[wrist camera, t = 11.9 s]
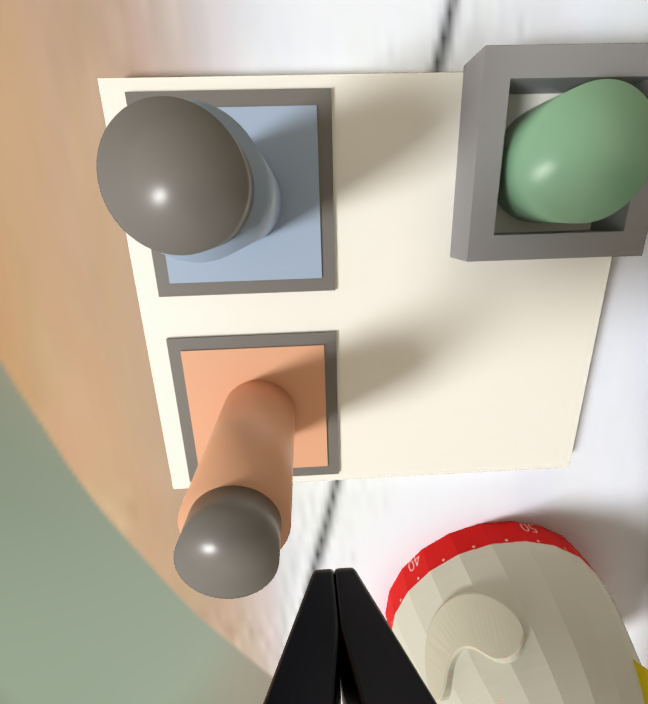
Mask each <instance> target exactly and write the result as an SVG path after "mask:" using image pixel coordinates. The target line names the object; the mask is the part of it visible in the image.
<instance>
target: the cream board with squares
mask: <svg viewBox="0 0 648 704" xmlns="http://www.w3.org/2000/svg"><path fill="white" fill-rule="evenodd" d="M599 79H616V80H620V81H624V82H626V83H629V84H631V85H633V86H634V87H636V88H637V89H639V90H640V91H641V92H642V93H643V94H644V95H645V97H646V98H647V99H648V43H616V44H549V45H486V46H485V47H484V48H483V49H482V50H481V51H480V52H478V53H477V54H476V55H475V56H474V57H473V58H472V59H471V60H470V61H469V62H468V63H467V64H466V65H465V66H464V72H441V73H384V74H327V75H270V76H213V77H156V78H99V79H98V84H99V89H100V95H101V100H102V106H103V111H104V117H105V122H106V127H107V126H108V124H109V123H110V121H111V120H112V119H113V118H114V117H115V116H116V114H118V113H119V112H120V111H121V110H122V109H123V108H125V107H126V106H128V105H130V104H131V103H133V102H136V101H138V100H141V99H144V98H148V97H153V96H172V97H177V98H181V99H192V100H197V101H201V102H205V103H207V104H210V105H213V106H215V107H216V108H218V109H220V110H222V111H224V112H225V113H227V114H228V115H229V116H231V117H232V118H233V119H234V120H235V121H236V122H238V123H239V124H240V125H241V126H242V128H243V129H244V130H245V131H246V132H247V133H248V135H249V136H250V138H251V139H252V141H253V142H254V144H255V145H256V147H257V149H258V150H259V152H260V153H261V155H262V156H263V158H264V160H265V161H266V163H267V164H268V166H269V167H270V169H271V171H272V172H273V174H274V175H275V177H276V179H277V181H278V184H279V187H280V190H281V197H282V206H281V212H280V216H279V218H278V221H277V223H276V224H275V226H274V228H273V229H272V230H271V231H270V232H269V233H268V234H267V235H266V236H265V237H263V238H261V239H260V240H258V241H256V242H254V243H252V244H250V245H248V246H246V247H244V248H242V249H240V250H238V251H237V252H235V253H233V254H231V255H229V256H227V257H224V258H222V259H219V260H215V261H211V262H202V263H196V262H186V261H181V260H177V259H174V258H171V257H169V256H167V255H164V254H162V253H160V252H158V251H154V250H152V249H150V248H148V247H146V246H144V245H142V244H141V243H139V242H137V241H136V240H135V239H133V238H132V237H131V236H129V235H128V234H127V233H126V235H127V241H128V246H129V252H130V257H131V262H132V268H133V273H134V279H135V284H136V290H137V295H138V300H139V306H140V311H141V317H142V322H143V327H144V333H145V338H146V344H147V349H148V354H149V360H150V365H151V371H152V376H153V381H154V387H155V392H156V398H157V403H158V408H159V414H160V419H161V425H162V430H163V436H164V441H165V446H166V452H167V457H168V463H169V468H170V473H171V479H172V484H173V489H183V488H189V486H190V483H191V481H192V479H193V476H194V474H195V472H196V469H197V467H198V464H199V462H200V460H201V457H202V455H203V453H204V450H205V448H206V445H207V443H208V441H209V438H210V436H211V434H212V431H213V429H214V426H215V424H216V422H217V419H218V417H219V415H220V412H221V410H222V407H223V405H224V403H225V400H226V398H227V396H228V395H229V393H230V392H231V391H232V390H233V389H234V388H236V387H237V386H238V385H240V384H242V383H245V382H248V381H253V380H264V381H269V382H272V383H275V384H277V385H278V386H280V387H282V388H283V389H284V390H285V391H286V392H287V393H288V394H289V395H290V397H291V399H292V401H293V403H294V406H295V432H294V458H293V482H308V481H326V480H344V479H362V478H379V477H397V476H415V475H433V474H451V473H469V472H487V471H505V470H522V469H540V468H558V467H569V465H570V460H571V455H572V450H573V446H574V441H575V436H576V431H577V426H578V421H579V416H580V411H581V406H582V402H583V397H584V392H585V387H586V382H587V377H588V372H589V367H590V362H591V357H592V353H593V348H594V343H595V338H596V333H597V328H598V323H599V318H600V313H601V308H602V304H603V299H604V294H605V289H606V284H607V279H608V274H609V269H610V264H611V260H612V257H615V256H642V253H643V248H644V244H645V239H646V235H647V231H648V177H647V179H646V181H645V182H644V184H643V185H642V187H641V188H640V190H639V191H638V192H637V193H636V195H635V196H634V197H633V198H632V199H631V200H630V201H629V202H628V203H627V204H626V205H625V206H623V207H622V208H621V209H620V210H618V211H617V212H615V213H614V214H612V215H610V216H608V217H606V218H603V219H601V220H598V221H594V222H590V223H539V222H526V221H522V220H519V219H517V218H515V217H513V216H511V215H510V214H509V213H507V212H506V211H505V210H504V209H503V208H502V206H501V205H500V204H499V202H498V191H499V182H500V172H501V163H502V153H503V144H504V135H505V130H506V129H507V128H508V127H509V125H510V124H511V123H512V122H513V121H514V120H515V119H516V118H517V117H519V116H520V115H521V114H523V113H524V112H526V111H528V110H530V109H531V108H534V107H536V106H538V105H540V104H542V103H544V102H546V101H548V100H550V99H552V98H555V97H557V96H559V95H561V94H563V93H565V92H567V91H569V90H571V89H573V88H576V87H578V86H580V85H582V84H585V83H587V82H590V81H594V80H599Z"/></svg>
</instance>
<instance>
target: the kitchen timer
mask: <svg viewBox="0 0 648 704" xmlns="http://www.w3.org/2000/svg"><path fill="white" fill-rule="evenodd" d="M386 618H387V623H388V624H389V626H390V627H391V629H392V631H393V632H394V634H395V636H396V637H397V639H398V641H399V642H400V644H401V645H402V647H403V649H404V650H405V652H406V654H407V655H408V657H409V658H410V660H411V662H412V663H413V665H414V667H415V668H416V670H417V672H418V673H419V675H420V676H421V678H422V680H423V681H424V683H425V685H426V686H427V688H428V690H429V691H430V693H431V694H432V696H433V698H434V699H435V701H436V703H437V704H648V670H647V669H646V668H645V667H643V666H642V665H641V663H640V660H639V658H638V656H637V653H636V651H635V649H634V646H633V644H632V641H631V639H630V637H629V635H628V632H627V630H626V628H625V626H624V623H623V621H622V619H621V617H620V614H619V612H618V610H617V608H616V606H615V604H614V602H613V600H612V598H611V596H610V594H609V593H608V591H607V589H606V587H605V586H604V584H603V583H602V581H601V580H600V578H599V577H598V575H597V574H596V573H595V571H594V570H593V569H592V568H591V567H590V565H589V564H588V563H587V562H586V561H585V559H584V558H583V557H582V556H581V554H580V553H579V552H578V551H577V550H576V549H575V548H574V547H573V546H572V545H571V544H570V543H569V542H568V541H567V540H566V539H565V538H564V537H562V536H560V535H558V534H556V533H554V532H552V531H550V530H548V529H545V528H543V527H541V526H538V525H532V524H525V523H519V522H512V521H508V522H496V523H485V524H478V525H475V526H471V527H468V528H465V529H462V530H459V531H456V532H453V533H450V534H448V535H446V536H444V537H442V538H441V539H439V540H437V541H436V542H434V543H432V544H430V545H429V546H427V547H425V548H424V549H422V550H421V551H420V552H419V553H418V554H417V555H416V556H415V557H414V558H413V559H412V560H411V561H410V562H409V563H408V564H407V565H406V566H405V567H404V568H403V569H402V570H401V572H400V573H399V575H398V577H397V579H396V580H395V582H394V584H393V586H392V587H391V589H390V591H389V596H388V602H387V607H386Z"/></svg>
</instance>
